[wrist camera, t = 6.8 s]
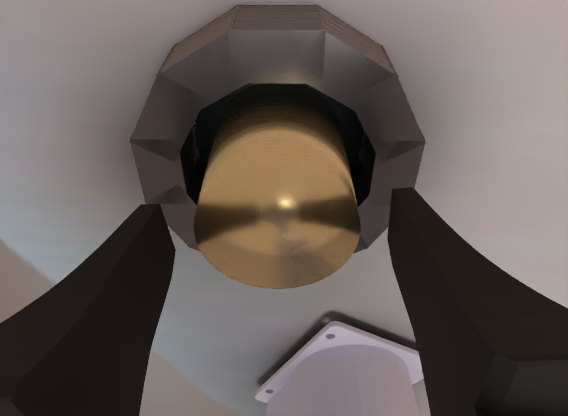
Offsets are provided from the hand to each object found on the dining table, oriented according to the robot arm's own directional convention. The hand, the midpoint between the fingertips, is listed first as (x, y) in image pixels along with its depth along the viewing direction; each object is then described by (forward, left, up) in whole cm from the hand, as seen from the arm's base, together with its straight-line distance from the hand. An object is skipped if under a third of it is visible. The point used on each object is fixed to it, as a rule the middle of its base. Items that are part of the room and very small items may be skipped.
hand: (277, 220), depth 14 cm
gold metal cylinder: (0, 0, -5) cm, 5 cm away
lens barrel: (0, 0, -5) cm, 5 cm away
